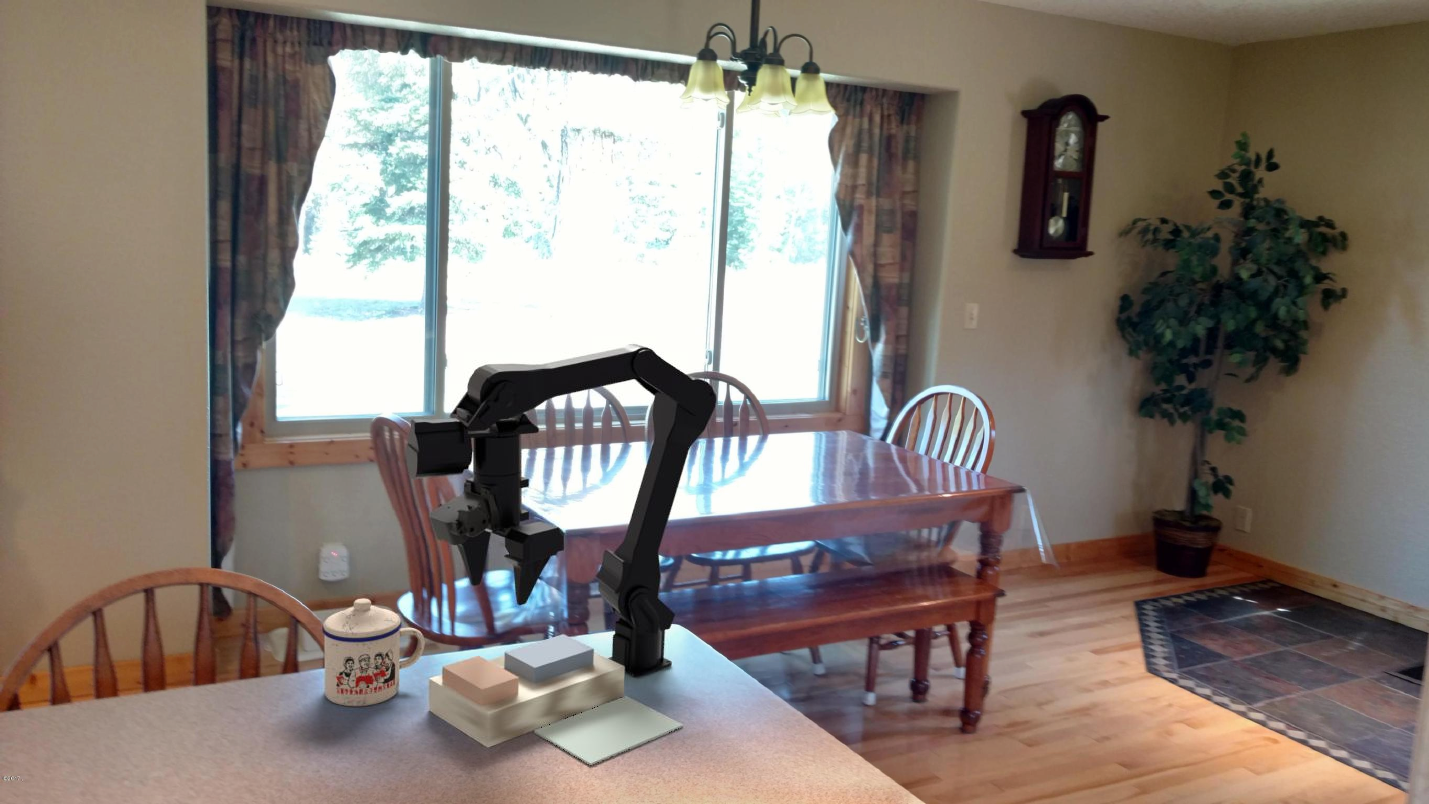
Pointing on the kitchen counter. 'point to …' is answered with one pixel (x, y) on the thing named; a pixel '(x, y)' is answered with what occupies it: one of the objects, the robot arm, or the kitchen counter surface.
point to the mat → (608, 730)
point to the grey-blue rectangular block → (548, 658)
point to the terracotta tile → (480, 680)
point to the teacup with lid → (364, 654)
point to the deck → (529, 701)
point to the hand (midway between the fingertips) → (498, 594)
